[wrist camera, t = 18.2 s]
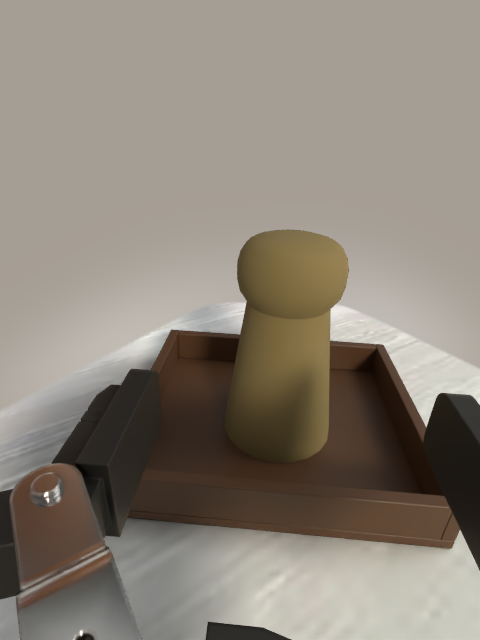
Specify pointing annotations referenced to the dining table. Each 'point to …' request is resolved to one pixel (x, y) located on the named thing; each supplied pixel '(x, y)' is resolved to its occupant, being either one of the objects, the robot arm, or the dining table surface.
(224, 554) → the dining table surface
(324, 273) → the cork
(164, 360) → the tray
